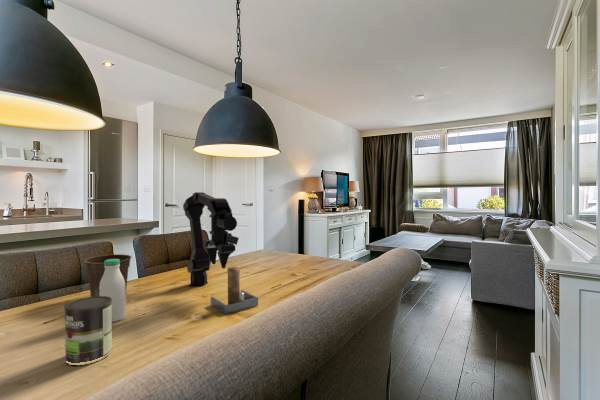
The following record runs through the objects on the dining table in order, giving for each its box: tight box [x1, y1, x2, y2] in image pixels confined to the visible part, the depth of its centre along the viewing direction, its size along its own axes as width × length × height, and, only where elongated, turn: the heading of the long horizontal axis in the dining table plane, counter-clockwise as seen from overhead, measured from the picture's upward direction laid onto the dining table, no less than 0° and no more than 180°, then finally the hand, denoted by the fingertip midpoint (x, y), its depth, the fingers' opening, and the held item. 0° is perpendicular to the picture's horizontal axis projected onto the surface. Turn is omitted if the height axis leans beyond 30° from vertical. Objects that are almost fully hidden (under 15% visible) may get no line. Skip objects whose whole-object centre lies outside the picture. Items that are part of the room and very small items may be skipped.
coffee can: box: [63, 296, 113, 363], centre depth 82 cm, size 10×10×14 cm
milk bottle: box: [99, 259, 127, 323], centre depth 106 cm, size 8×8×20 cm
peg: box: [227, 266, 241, 304], centre depth 119 cm, size 4×4×14 cm
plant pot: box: [84, 253, 132, 297], centre depth 127 cm, size 16×16×16 cm
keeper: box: [210, 290, 259, 315], centre depth 118 cm, size 12×14×6 cm
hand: (218, 266), depth 130 cm, fingers open, 9 cm apart
